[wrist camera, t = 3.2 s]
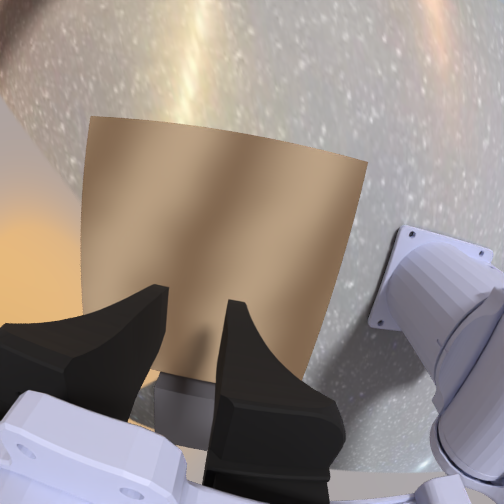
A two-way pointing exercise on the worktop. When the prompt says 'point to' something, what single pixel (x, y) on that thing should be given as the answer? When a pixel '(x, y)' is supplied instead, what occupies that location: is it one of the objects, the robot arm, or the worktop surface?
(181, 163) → the wooden tan block
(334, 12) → the worktop surface
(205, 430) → the grey upright cuboid
